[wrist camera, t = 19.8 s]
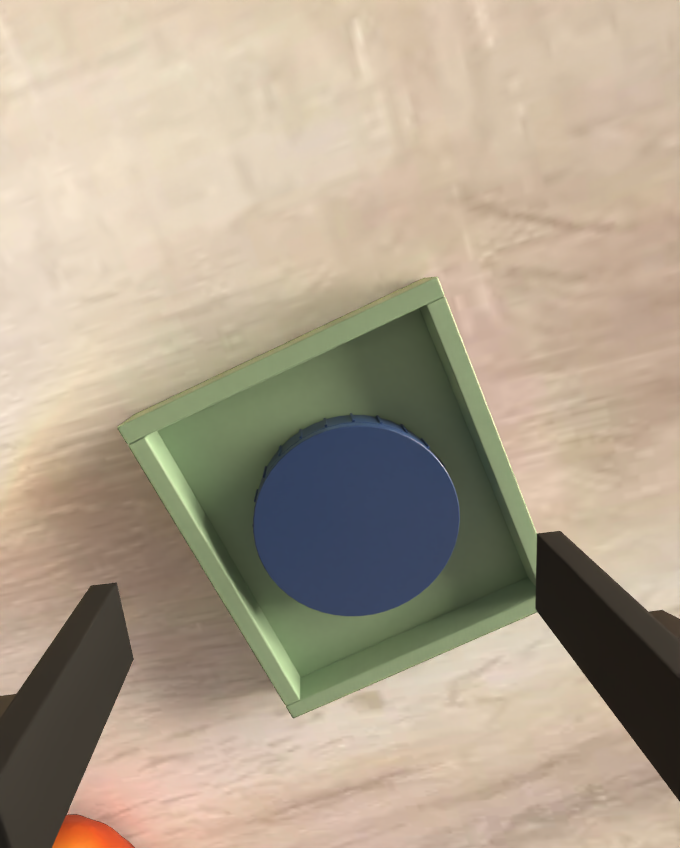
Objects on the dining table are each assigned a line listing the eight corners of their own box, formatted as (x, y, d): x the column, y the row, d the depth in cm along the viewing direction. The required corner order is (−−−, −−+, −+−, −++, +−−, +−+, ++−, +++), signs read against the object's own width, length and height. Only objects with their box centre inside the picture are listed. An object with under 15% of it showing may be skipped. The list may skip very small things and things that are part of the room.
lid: (487, 482, 23) (503, 499, 21) (373, 623, 25) (379, 650, 23) (330, 373, 21) (333, 381, 20) (217, 532, 23) (210, 553, 21)
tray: (133, 414, 22) (115, 427, 20) (425, 277, 21) (437, 275, 19) (293, 685, 26) (292, 719, 24) (542, 576, 25) (563, 601, 23)
